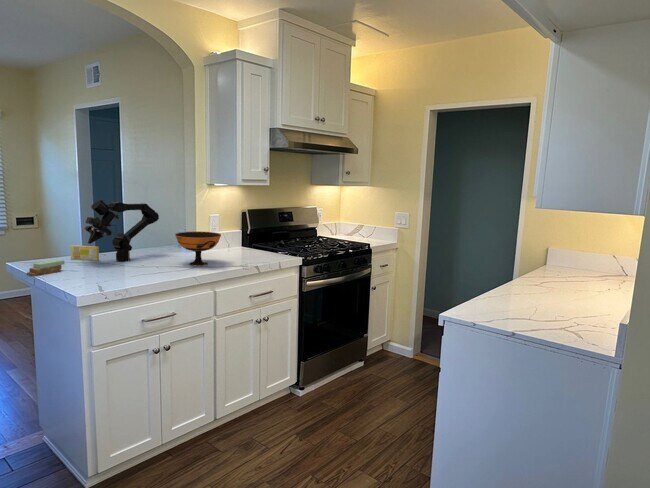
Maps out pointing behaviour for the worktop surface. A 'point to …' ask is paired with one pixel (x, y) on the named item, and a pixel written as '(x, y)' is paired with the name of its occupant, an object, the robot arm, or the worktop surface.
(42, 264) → the green domino
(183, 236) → the cup
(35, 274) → the walnut domino end
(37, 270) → the walnut domino middle
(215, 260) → the worktop surface
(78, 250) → the candy box
